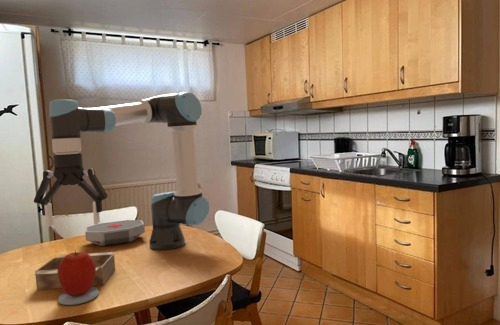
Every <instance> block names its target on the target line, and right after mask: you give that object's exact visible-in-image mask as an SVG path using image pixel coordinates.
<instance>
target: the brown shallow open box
mask: <svg viewBox="0 0 500 325" xmlns="http://www.w3.org/2000/svg"><path fill="white" fill-rule="evenodd" d="M87 254H88V255H90V256H91V257H92V259H93V260H94V262H95V264H96V273H95V278H94V281H93V285H92V287H95V286H104V285H105V284H106V283H107V281H109V279H110V278H111V276H113V274H114V273H115V271H116V262H115V261H116V260H115V253H114V251H113V252H112V251H111V252H109V251H108V252H95V253H87ZM66 255H67V254H62V255H61V254H60V255H58V256H55V257H53V258H51V259H50V260H49V261H47V262H46V263H44V264H43V265H42V266H40V267H39V268H37V269H36V270H35V272H34V274H33V275H34V276H35V284H36V286H35V287H36V290H50V289H60V288H61V289H63V288H62V286H61V284H60V281H59V276H58V267H59V264H60V262H61V261H62V259H63V258H64V257H65V256H66Z"/></svg>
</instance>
